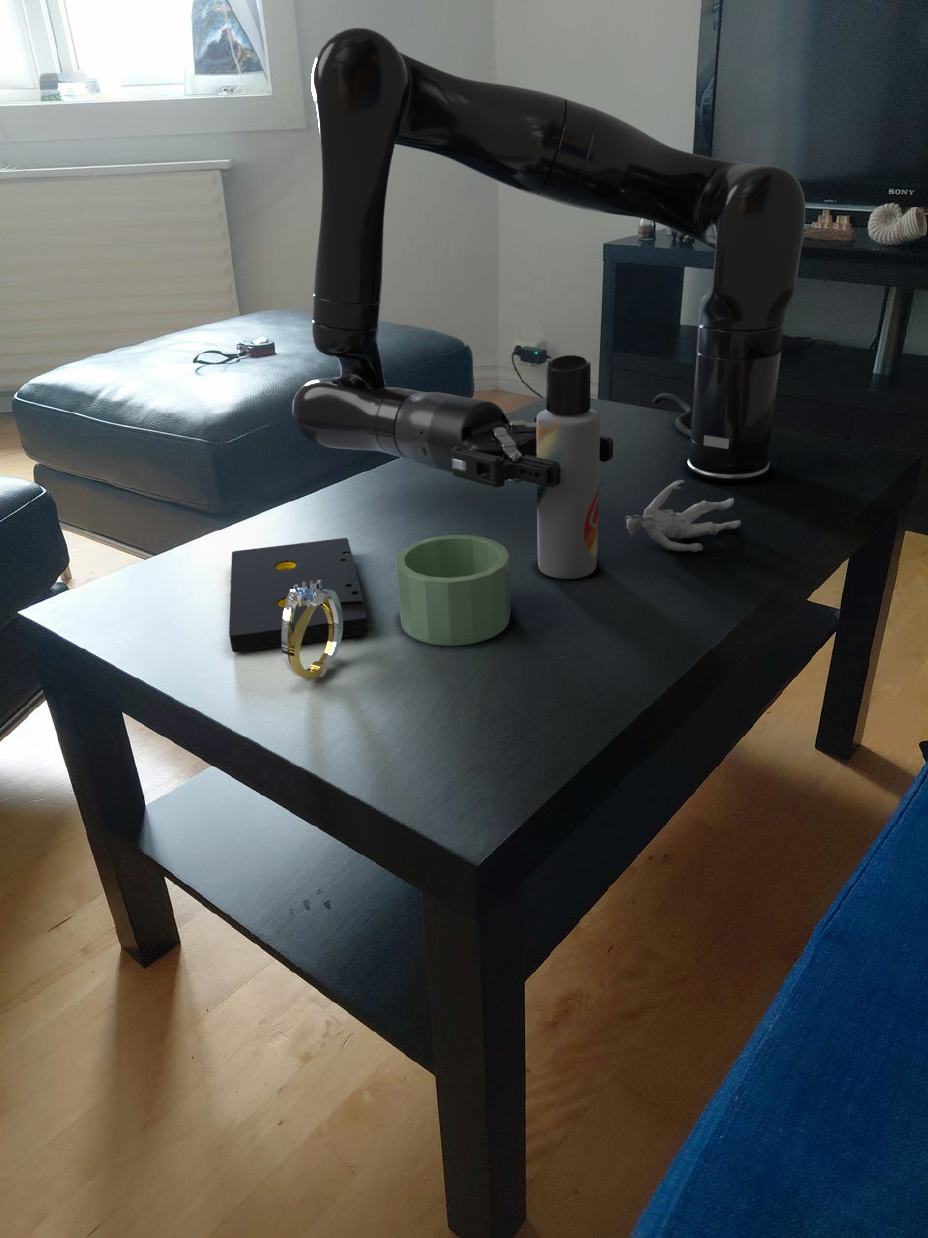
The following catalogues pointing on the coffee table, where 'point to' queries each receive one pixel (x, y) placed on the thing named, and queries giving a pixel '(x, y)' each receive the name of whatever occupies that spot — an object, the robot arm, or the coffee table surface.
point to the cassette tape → (273, 575)
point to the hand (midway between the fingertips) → (585, 462)
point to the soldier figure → (678, 521)
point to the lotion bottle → (568, 472)
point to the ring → (293, 642)
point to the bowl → (454, 589)
